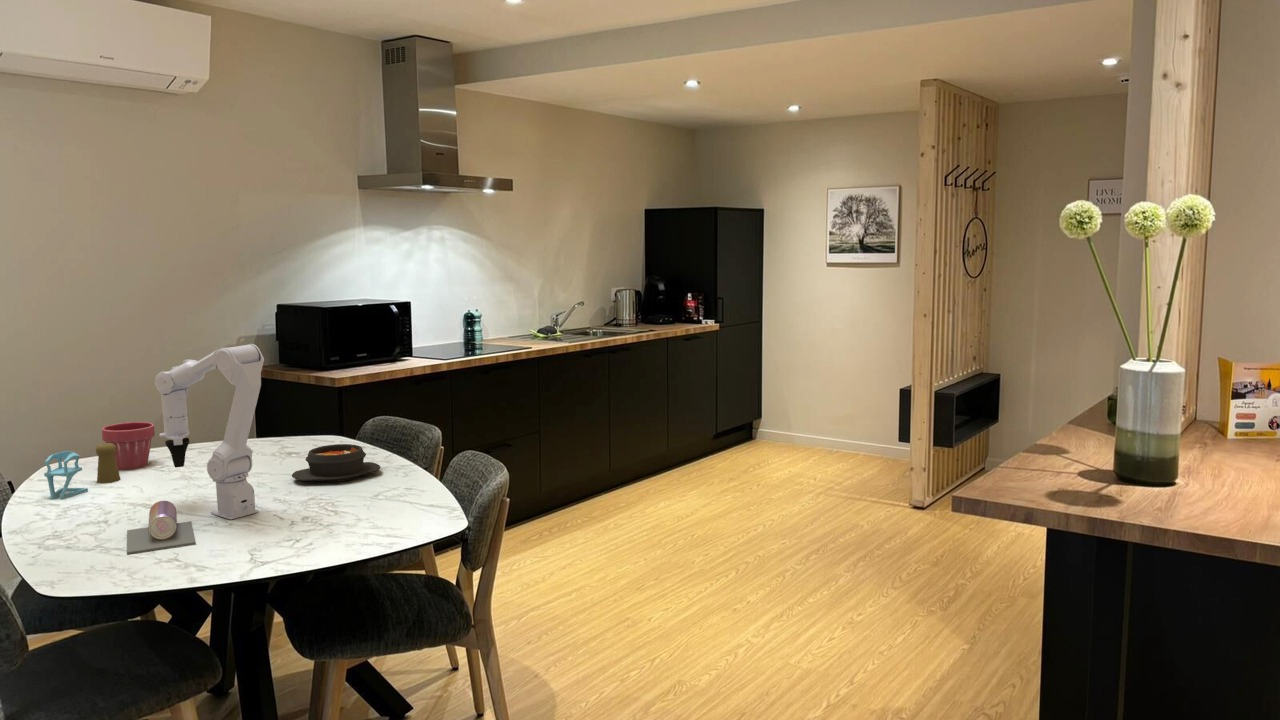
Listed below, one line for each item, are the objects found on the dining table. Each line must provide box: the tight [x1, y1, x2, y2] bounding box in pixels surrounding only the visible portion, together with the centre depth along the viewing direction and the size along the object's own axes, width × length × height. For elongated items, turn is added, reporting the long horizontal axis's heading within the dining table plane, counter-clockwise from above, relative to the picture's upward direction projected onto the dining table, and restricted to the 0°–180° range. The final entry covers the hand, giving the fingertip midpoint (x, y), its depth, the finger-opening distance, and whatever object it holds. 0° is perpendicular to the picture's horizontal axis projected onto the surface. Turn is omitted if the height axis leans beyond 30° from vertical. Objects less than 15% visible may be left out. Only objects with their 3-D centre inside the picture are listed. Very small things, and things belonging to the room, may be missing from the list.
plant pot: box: [101, 421, 156, 471], centre depth 287 cm, size 14×14×13 cm
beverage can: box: [147, 500, 178, 540], centre depth 223 cm, size 6×6×15 cm
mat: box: [126, 520, 197, 555], centre depth 219 cm, size 18×14×1 cm
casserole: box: [291, 443, 381, 483], centre depth 272 cm, size 25×19×8 cm
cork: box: [95, 442, 121, 484], centre depth 270 cm, size 6×6×11 cm
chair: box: [43, 450, 89, 500], centre depth 256 cm, size 8×8×12 cm
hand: (179, 466), depth 245 cm, fingers closed
